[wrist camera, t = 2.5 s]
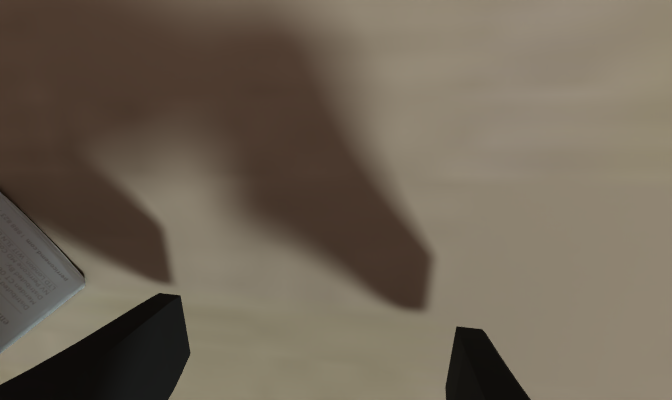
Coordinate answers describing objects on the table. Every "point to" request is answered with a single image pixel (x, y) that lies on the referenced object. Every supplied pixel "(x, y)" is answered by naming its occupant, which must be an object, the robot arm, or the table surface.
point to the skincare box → (29, 275)
